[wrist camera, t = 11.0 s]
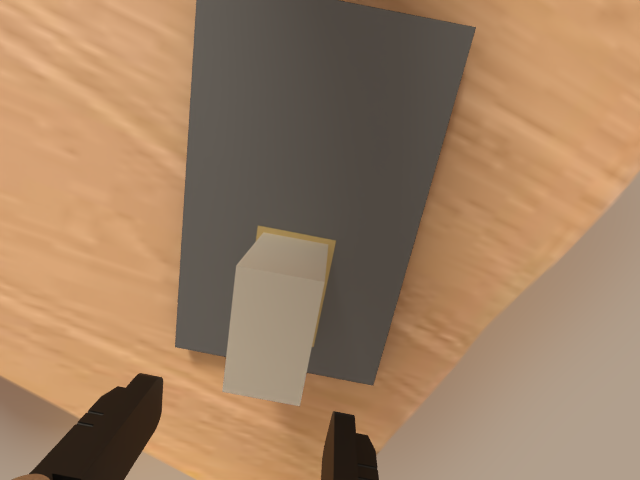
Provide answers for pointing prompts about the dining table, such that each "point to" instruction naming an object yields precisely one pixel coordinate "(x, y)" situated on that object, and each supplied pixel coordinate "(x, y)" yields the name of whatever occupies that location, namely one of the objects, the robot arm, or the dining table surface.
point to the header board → (313, 159)
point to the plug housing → (274, 318)
